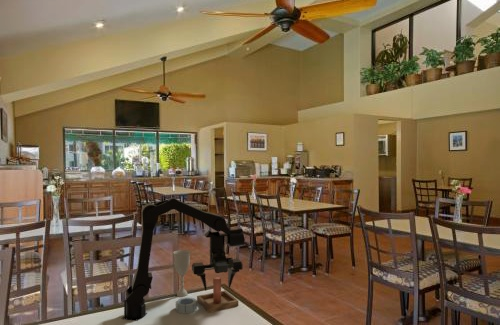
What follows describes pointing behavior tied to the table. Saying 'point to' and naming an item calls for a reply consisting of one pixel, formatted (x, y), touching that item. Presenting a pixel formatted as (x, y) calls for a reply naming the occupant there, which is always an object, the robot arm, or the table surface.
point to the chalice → (182, 267)
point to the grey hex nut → (186, 305)
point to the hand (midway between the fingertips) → (217, 288)
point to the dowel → (217, 290)
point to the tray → (209, 306)
